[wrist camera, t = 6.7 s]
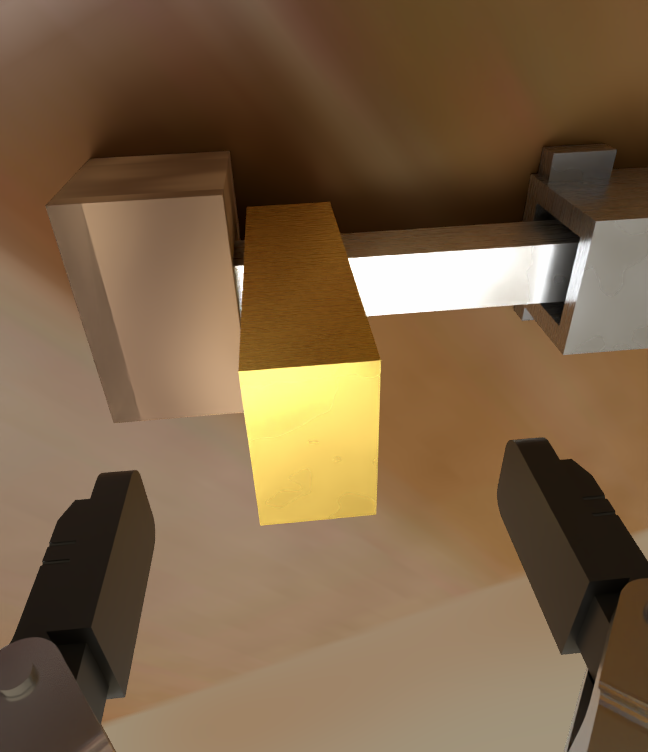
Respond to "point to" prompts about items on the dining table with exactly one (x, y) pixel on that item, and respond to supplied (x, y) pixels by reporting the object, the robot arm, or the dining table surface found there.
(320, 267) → the slide bar
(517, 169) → the dining table surface
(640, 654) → the robot arm
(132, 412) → the socket block
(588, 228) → the sleeve
